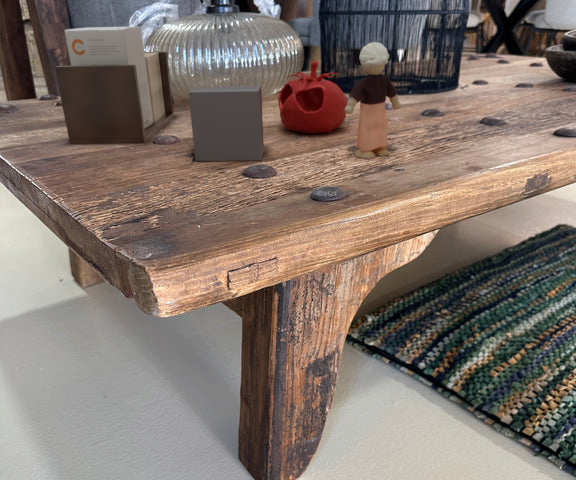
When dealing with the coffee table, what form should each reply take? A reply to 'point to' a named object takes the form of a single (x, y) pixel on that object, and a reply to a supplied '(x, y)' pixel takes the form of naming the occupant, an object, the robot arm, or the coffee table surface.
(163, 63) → the book rack
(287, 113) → the hollow red tomato
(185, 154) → the coffee table surface
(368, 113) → the grandmother figurine
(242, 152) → the matte grey upright block
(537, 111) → the coffee table surface
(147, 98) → the small box
